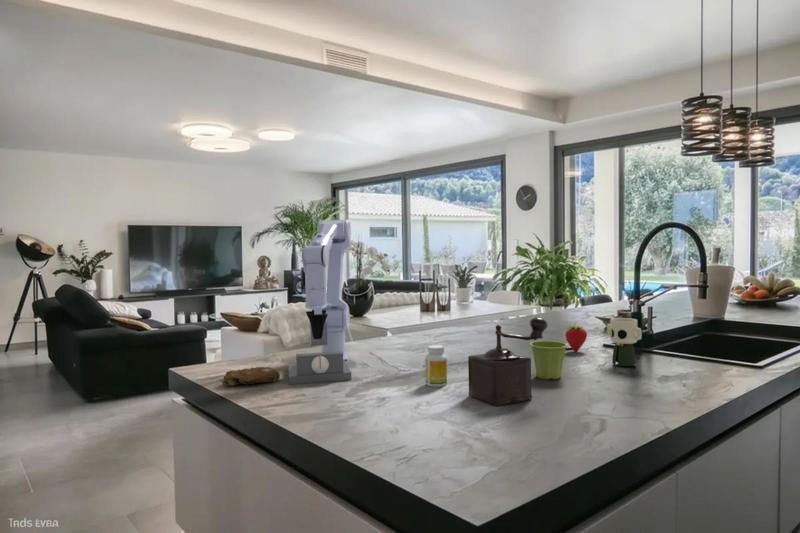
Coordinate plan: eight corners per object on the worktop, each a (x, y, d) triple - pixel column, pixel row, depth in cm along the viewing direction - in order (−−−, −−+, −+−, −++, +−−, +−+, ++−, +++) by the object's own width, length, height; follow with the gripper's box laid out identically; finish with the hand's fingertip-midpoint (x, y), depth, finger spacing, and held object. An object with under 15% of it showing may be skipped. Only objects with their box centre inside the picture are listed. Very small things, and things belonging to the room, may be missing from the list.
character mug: (599, 363, 156) (599, 318, 155) (615, 360, 159) (615, 316, 159) (632, 370, 146) (632, 322, 146) (649, 367, 150) (649, 320, 149)
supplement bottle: (421, 384, 137) (420, 346, 136) (436, 380, 140) (436, 343, 140) (436, 388, 133) (435, 349, 132) (451, 384, 136) (451, 346, 136)
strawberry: (591, 351, 174) (591, 320, 173) (576, 354, 169) (575, 322, 169) (576, 348, 178) (576, 318, 178) (561, 351, 174) (560, 320, 174)
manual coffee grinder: (497, 407, 116) (496, 323, 115) (467, 396, 126) (466, 318, 125) (552, 397, 123) (551, 317, 123) (519, 386, 133) (518, 313, 132)
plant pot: (574, 376, 142) (573, 343, 141) (556, 383, 135) (556, 348, 135) (541, 371, 148) (541, 339, 148) (523, 377, 141) (523, 344, 141)
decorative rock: (233, 394, 133) (287, 385, 143) (234, 378, 133) (287, 369, 143) (213, 384, 141) (265, 375, 152) (213, 368, 141) (265, 361, 152)
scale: (288, 369, 157) (287, 345, 157) (344, 365, 160) (343, 341, 160) (289, 384, 140) (288, 357, 139) (351, 379, 143) (350, 353, 143)
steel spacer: (310, 342, 153) (309, 321, 153) (326, 342, 154) (325, 321, 154) (310, 345, 149) (310, 323, 149) (327, 344, 150) (327, 323, 150)
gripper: (332, 290, 145) (334, 340, 145) (328, 286, 159) (329, 332, 160) (305, 291, 143) (307, 342, 144) (303, 287, 158) (305, 334, 158)
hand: (317, 337), depth 152 cm, fingers closed on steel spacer, 4 cm apart
